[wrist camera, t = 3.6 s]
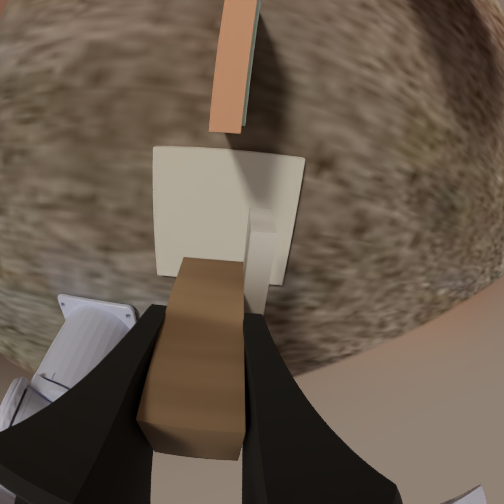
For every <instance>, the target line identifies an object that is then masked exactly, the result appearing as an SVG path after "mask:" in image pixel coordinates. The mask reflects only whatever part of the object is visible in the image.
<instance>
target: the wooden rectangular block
mask: <svg viewBox="0 0 504 504" xmlns="http://www.w3.org/2000/svg"><path fill="white" fill-rule="evenodd" d="M277 234H278V233H277V229H276V225H275V221H274V217H273V214H272V210H271V209H261V208H250V207H249V216H248V225H247V234H246V243H245V252H244V261H243V262H239V261H227V260H215V259H202V258H191V257H183V260H182V263H181V266H180V269H179V272H178V275H177V278H176V281H175V284H174V287H173V290H172V293H171V296H170V299H169V302H168V305H167V308H166V311H165V313H166V314H165V318H164V321H163V324H162V327H161V329H160V331H159V334H158V338H157V341H156V345H155V348H154V352H153V355H152V359H151V362H150V366H149V370H148V373H147V377H146V381H145V385H144V389H143V393H142V397H141V401H140V405H139V409H138V413H137V418H136V421H137V422H138V424H139V426H140V428H141V430H142V431H143V433H144V435H145V436H146V438H147V440H148V441H149V443H150V445H151V446H152V448H153V450H154V451H155V452H159V453H165V454H171V455H178V456H186V457H194V458H204V459H217V460H236V461H237V460H238V458H239V455H240V451H241V447H242V443H243V440H244V436H245V380H244V336H243V320H244V313H256V314H262V315H263V314H264V309H265V303H266V298H267V292H268V286H269V281H270V275H271V269H272V264H273V258H274V252H275V246H276V240H277Z"/></svg>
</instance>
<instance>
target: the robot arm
mask: <svg viewBox="0 0 504 504" xmlns="http://www.w3.org/2000/svg"><path fill="white" fill-rule="evenodd" d="M58 301H59V304H60V307H61V309H62V312H63V315H64V317H65V320H66V321H65V323H64V324H63V326H62V327H61V329H60V331H59V332H58V334H57V336H56V338H55V339H54V341H53V343H52V344H51V346H50V348H49V350H48V352H47V353H46V355H45V357H44V359H43V361H42V363H41V364H40V366H39V368H38V370H37V372H36V373H35V375H34V376H33V378H32V380H31V381H30V383H29V385H28V381H29V380H27V379H26V378H25V377H21V378H15V379H14V380H13V382H12V383H11V385H10V387H9V389H8V391H7V393H6V395H5V397H4V399H3V401H2V403H1V406H0V504H150V494H151V493H150V492H151V471H152V457H153V448H152V446H151V445H150V443H149V441H148V440H147V438H146V436H145V435H144V433H143V431H142V430H141V428H140V426H139V424H138V422H137V421H136V418H137V413H138V409H139V405H140V401H141V397H142V393H143V389H144V385H145V381H146V377H147V373H148V370H149V366H150V362H151V359H152V355H153V352H154V348H155V345H156V341H157V338H158V334H159V331H160V329H161V327H162V324H163V321H164V318H165V314H166V313H165V311H166V308H167V306H163V305H154V304H152V305H151V306H149V308H148V309H147V310H146V311H145V312H144V314H143V315H142V316H141V317H140V319H139V320H138V321H137V320H136V316H135V311H134V308H133V307H132V306H130V305H126V304H119V303H112V302H106V301H99V300H93V299H87V298H82V297H76V296H71V295H65V294H60V295H59V296H58ZM128 314H129V315H128ZM130 315H131V316H130ZM243 336H244V380H245V436H244V440H243V443H242V444H243V450H242V451H243V453H242V462H243V463H242V466H243V467H242V504H403V503H402V499H401V496H400V493H399V491H398V489H397V486H396V484H394V483H393V482H391V481H390V480H389V479H387V478H386V477H384V476H383V475H382V474H380V473H379V472H377V471H376V470H375V469H374V468H372V467H371V466H370V465H368V464H367V463H366V462H365V461H364V460H363V459H362V458H360V457H359V456H358V455H357V454H356V453H354V452H353V451H352V450H351V449H350V448H349V447H348V446H347V445H346V444H345V443H344V442H343V441H342V440H341V438H340V437H338V436H337V435H336V434H335V432H334V431H333V430H332V429H331V428H330V427H329V426H328V425H327V424H326V422H324V420H323V419H322V418H321V416H320V415H319V414H318V413H317V412H316V410H315V409H314V408H313V406H312V405H311V404H310V402H309V401H308V400H307V398H306V397H305V395H304V394H303V392H302V391H301V389H300V388H299V386H298V385H297V383H296V382H295V380H294V378H293V377H292V375H291V373H290V372H289V370H288V368H287V367H286V365H285V363H284V361H283V359H282V357H281V356H280V354H279V352H278V350H277V348H276V346H275V344H274V341H273V339H272V337H271V335H270V332H269V330H268V327H267V325H266V322H265V319H264V316H263V315H262V314H256V313H244V320H243ZM441 504H487V502H486V498H485V495H484V491H483V488H482V485H478V486H476V487H475V488H473V489H471V490H469V491H467V492H465V493H464V494H462V495H460V496H458V497H456V498H453V499H451V500H448V501H446V502H444V503H441Z"/></svg>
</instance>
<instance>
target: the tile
mask: <svg viewBox="0 0 504 504" xmlns="http://www.w3.org/2000/svg"><path fill="white" fill-rule="evenodd" d="M260 2H261V0H225V3H224V9H223V15H222V22H221V28H220V35H219V42H218V50H217V57H216V65H215V74H214V83H213V92H212V102H211V112H210V123H209V131H210V132H226V133H239V134H241V126H245V122H246V113H247V104H248V96H249V87H250V79H251V70H252V62H253V54H254V47H255V39H256V31H257V24H258V17H259V9H260Z"/></svg>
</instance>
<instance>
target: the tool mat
mask: <svg viewBox="0 0 504 504" xmlns="http://www.w3.org/2000/svg"><path fill="white" fill-rule="evenodd" d="M304 164H305V158H303V157H296V156H289V155H281V154H273V153H264V152H255V151H245V150H233V149H220V148H204V147H179V146H155V147H153V212H154V234H155V251H156V264H157V275H163V276H173V277H177V275H178V272H179V269H180V266H181V263H182V260H183V257H191V258H202V259H215V260H227V261H239V262H243V261H244V252H245V243H246V234H247V225H248V216H249V207H250V208H261V209H271V210H272V214H273V217H274V221H275V225H276V229H277V233H278V234H277V240H276V246H275V252H274V258H273V264H272V269H271V275H270V281H269V284H273V285H282V283H283V278H284V273H285V268H286V263H287V258H288V253H289V248H290V243H291V238H292V232H293V227H294V222H295V216H296V211H297V205H298V200H299V194H300V188H301V182H302V176H303V170H304Z"/></svg>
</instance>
